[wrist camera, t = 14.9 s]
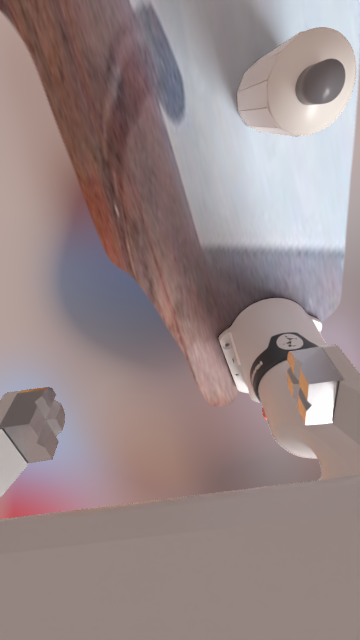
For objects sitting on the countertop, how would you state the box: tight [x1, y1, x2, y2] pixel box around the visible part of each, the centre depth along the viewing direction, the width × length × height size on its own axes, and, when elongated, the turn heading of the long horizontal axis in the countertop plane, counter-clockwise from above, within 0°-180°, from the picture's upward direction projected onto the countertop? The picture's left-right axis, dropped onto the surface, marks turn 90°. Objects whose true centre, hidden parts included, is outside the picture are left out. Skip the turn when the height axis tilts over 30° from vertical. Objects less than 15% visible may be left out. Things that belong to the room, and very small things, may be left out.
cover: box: [237, 27, 356, 137], centre depth 31 cm, size 7×7×17 cm
